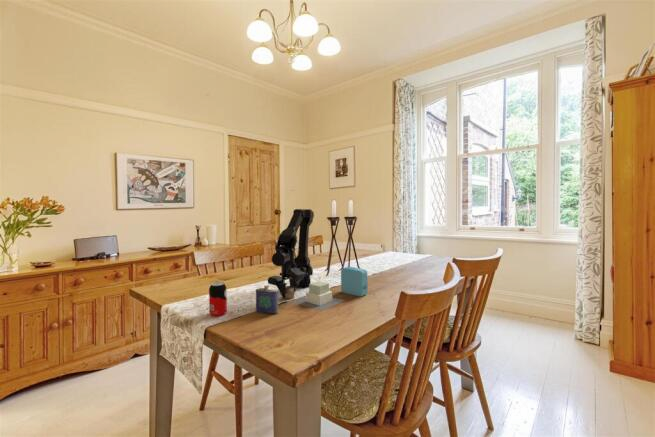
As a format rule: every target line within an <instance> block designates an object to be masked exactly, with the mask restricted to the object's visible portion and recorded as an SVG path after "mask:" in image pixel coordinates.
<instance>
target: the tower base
mask: <svg viewBox="0 0 655 437" xmlns="http://www.w3.org/2000/svg"><path fill="white" fill-rule="evenodd" d="M332 297H333V291H331V290H329V292H327V293H324V294H321V295H318V294H314V293H310V292H309V291H306V292H305V298H306V302H309V303H312V304H316V305H319V306H321V305H323V304H325V303H328V302H330V301H332Z"/></svg>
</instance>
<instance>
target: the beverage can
mask: <svg viewBox="0 0 655 437" xmlns="http://www.w3.org/2000/svg"><path fill="white" fill-rule="evenodd" d="M225 283H226V282H224V281H214V282H211V283H210V286H209V288H208V300H209V301H208V302H209V303H208V304H209V314H210V315H211V316H212V317H221V315H222V316H224V315H225V314H226V313H227V312H228V303H227V302H228V297H227V296H228V295H227V286H226V284H225Z"/></svg>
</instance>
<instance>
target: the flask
mask: <svg viewBox="0 0 655 437" xmlns="http://www.w3.org/2000/svg"><path fill="white" fill-rule="evenodd" d="M269 287H270V286H269V285H268V284H267V285H264V288H263V287H259V288H256V289H255V312H256V313H259V314H266V315H277V314H278V313H279V302H278V299H279V298H278V296H279V295H278V294H279V290H277V289H269Z"/></svg>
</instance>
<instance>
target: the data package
mask: <svg viewBox="0 0 655 437" xmlns="http://www.w3.org/2000/svg"><path fill="white" fill-rule="evenodd" d="M340 272H341V273H340V290H341V292H342V293H345V294H348V295H352V296H357V297H363V296H366V295H367V294H368V271H367V269H365V268H359V267H352V266H346V267H342V268H341V270H340Z"/></svg>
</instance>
